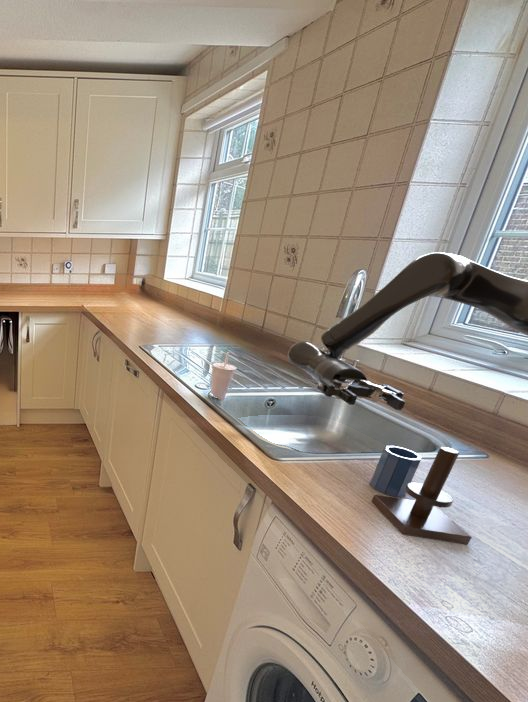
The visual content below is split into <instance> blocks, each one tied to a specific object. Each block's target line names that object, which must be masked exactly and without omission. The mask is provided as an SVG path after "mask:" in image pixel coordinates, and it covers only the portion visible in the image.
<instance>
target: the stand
mask: <svg viewBox="0 0 528 702" xmlns="http://www.w3.org/2000/svg"><path fill="white" fill-rule="evenodd" d="M459 455H460V451H459V450H456V449H454V448H452V447H448V446H440V447H439V449H438V451H437V453H436V455H435V458H434V459H433V462H432V464H431V466H430V469H429V471H428V473H427V475H426V477H425V479H424V482H415V481H411V483H408V485H407V487H406V489H405V490H406V494H407V495H409V496H410V498H413V499H408V498H403V497H394V496H389V495H381V494H373V495H372V498H371V502H372V504H373V505H374V506H375V507H376V508H377V509H378V510H379V511H380V512H381V513H382V514H383V516H385V517H386V519H388V521H389V522H390V523H392V525H393V526H394V527H395V528H396V529H397V531H399V532H400V533H401V534H402V535H404V536H405V535H407V536H412V537H419V538H425V539H431V540H432V539H433V540H438V541H443V542H451V543H457V544H462V545H469V543H470V541H471V539H472V536H471V535H470V534H469V533H468V532H467V531H465V530H464V529H463V528H462V527H461V526H460V525H458V524H457V523H456V522H455V521H454V520H453V519H451V518H450V517H449V516H448V515H447V514H446V513H444V512H443V511H442V510H441V509H440V508H444V509H445V508H446V509H447V508H449V507H451V506H452V505H453V502H454V498H453V497H452V495H450V494H449V493H447V491H444V490H443V488H444V485H445V484H446V481H447V480H448V478H449V475H450V473H451V472H452V469H453V467H454V465H455V463H456V461H457V459H458V457H459Z"/></svg>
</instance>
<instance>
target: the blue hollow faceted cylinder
mask: <svg viewBox="0 0 528 702" xmlns="http://www.w3.org/2000/svg"><path fill="white" fill-rule="evenodd" d="M422 459H423V456H421V455H420V454H419V453H417V452H415V451H413V450H410V449H408V448H405V447H401V446H397V445H385V446H384V447H383V449H382V452H381V455H380V458H379V460H378V462H377V465H376V467H375V470H374V471H373V472H374V473H373V475H372V477H371V479H370V482H369V485H370V486H371V487H372V488H373V489H374V490H376V491H378V492H380V493H382V494H384V495H386V496H390V497H395V498H404V497H406V495H407V492H406V490H405V489H406V487H407V485H408V483H412V482H413V479H414V477H415V474H416V472H417V470H418V467H419V466H420V463H421V462H422Z"/></svg>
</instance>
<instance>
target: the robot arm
mask: <svg viewBox="0 0 528 702" xmlns="http://www.w3.org/2000/svg"><path fill="white" fill-rule="evenodd" d="M428 297H431V298H439V299H440V298H441V299H445V300H449V301H453V302H457V303H460V304H463V305H466V306H470V307H473V308H475V309H478V310H480V311H483V312H485V313H487V314H489V315H490V316H492V317H493V318H495V319H496V320H498V321H500V322H501V323H503V324H504V325H506V326H508V327H510V328H511V329H513V330H515V331H517V332H519V333H521V334H523V335H526V336H527V337H528V280H527V279H521V278H518V277H513V276H510V275H507V274H505V273H501V272H499V271H496V270H494V269H491V268H489V267H487V266H484V265H482V264H480V263H477V262H475V261H473V260H471V259H468V258H466V257H464V256H462V255H458V254H453V253H448V252H430V253H425V254H422V255H420V256H418V257H416V258H415V259H414V260H412V261H411V262H410V263H409V264H407V265H406V266H405V267H404V268H403V269H402V270H401V271H399V273H398V274H396V275H395V276H394V277H393V278H392V279H391V280H390V281H389V282H388V283H387V284H386V285H385V286H383V288H382V289H380V290H379V291H378V292H377V293H376V294H374V295H373V296H372V297H371V298H369V299H368V300H367V301H366V302H365V303H363V304H361V305H360V306H359V307H357V308H356V309H355V310H354V311H353V312H351V313H350V314H348V315H346V316H345V317H344V318H342V319H341V320H339V321H337V322H336V323H335V324H333V325H331V327H329V328H328V329H327V330H325V331H323V332H322V334H321V336H320V339H321V343H322V344H323V345H324V346H325V348H326V349H325V350H323V349H322V348H321V347H319V346H317V345H315V344H314V343H312V342H310V341H308V340H307V341H306V340H301V341H298V342H296V343H294V344H292V345H291V346H290V348H289V349H288V352H287V359H288V362H290V363H291V364H292V365H293V366H296V367H298V368H299V369H301V370H303V371H304V372H305V373H307V374H308V375H309V376H310V377H311V378H312V379H314V380H315V381H316V382H317V387H316V389H318V390H319V391H320V392H321V393H322V394H323V395H324V396H326V397H329V398H332V397H333V396H334V397H335V398H336V399H338V400H342V401H343V402H345V403H346V404H347V405H349V406H354V405H355V404H356V402H357V398H359V399H365V400H367V401H371V402H374V403H378V402H381V403H384V404H386V405H387V406H389V407H390V408H393V409H394V410H396V411H402V410H403V409H404V406H405V404H406V400H404V399H403V397H404V395H405V393H404V392H402V391H401V390H398V389H397V388H395V387H393V386H391V385H389V384H387V383H382V384H381V385H378V384H375V383H372V382H371V381H369V380H368V379H367V376H366V375H365V374H366V373H364V372H363V371H362V370H360V369H359V368H357V367H355V366H353V365H352V364H350V363H349V362H347V361H344V360H342V359H340V358H341V357H342V356H343V355H344V354H345V353H346V352H347V351H348V350H351V349H352V348H353V347H355V346H357V345H358V344H359V343H361V342H363V341H365V340H366V339H367V338H369V337H371V336H372V335H373V334H374V333H376V332H377V330H379V328H381V327H382V326H383V325H384V324H385V323H386V322H387V321H388V320H389V319H390V318H391V317H393V316H394V315H395V314H397V313H398V312H400V311H402V310H403V309H405V308H406V307H408V306H410V305H412V304H414V303H416V302H418V301H421V300H422V299H425V298H428ZM374 393H375V394H374ZM373 394H374V396H372V395H373Z"/></svg>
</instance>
